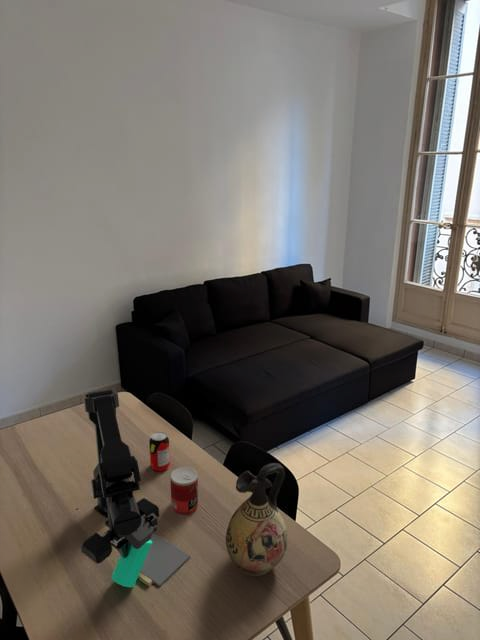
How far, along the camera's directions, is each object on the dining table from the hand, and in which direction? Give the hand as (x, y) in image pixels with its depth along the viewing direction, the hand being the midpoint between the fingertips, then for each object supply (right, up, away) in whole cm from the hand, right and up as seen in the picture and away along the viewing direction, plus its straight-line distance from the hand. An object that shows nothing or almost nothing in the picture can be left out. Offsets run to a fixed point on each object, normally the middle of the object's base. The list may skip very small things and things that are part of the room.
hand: (124, 556), depth 114 cm
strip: (+2, -7, +5) cm, 9 cm away
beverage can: (+1, +7, +46) cm, 47 cm away
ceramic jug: (+32, -6, +10) cm, 34 cm away
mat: (+6, -5, +10) cm, 13 cm away
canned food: (+11, +1, +29) cm, 31 cm away
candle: (-1, -7, +2) cm, 7 cm away
